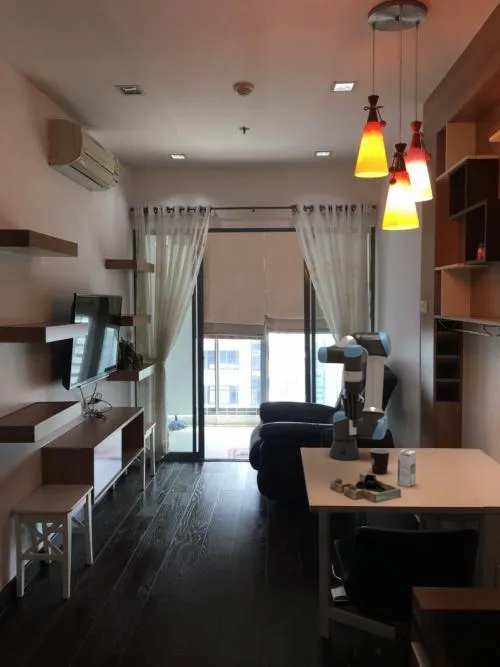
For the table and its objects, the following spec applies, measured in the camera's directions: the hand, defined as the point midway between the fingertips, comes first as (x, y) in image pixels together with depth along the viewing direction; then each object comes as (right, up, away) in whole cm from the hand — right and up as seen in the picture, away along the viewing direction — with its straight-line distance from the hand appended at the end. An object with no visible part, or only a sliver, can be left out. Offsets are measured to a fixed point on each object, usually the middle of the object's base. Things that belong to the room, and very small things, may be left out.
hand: (352, 434), depth 234 cm
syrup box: (+22, -21, -4) cm, 31 cm away
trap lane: (+2, -21, -13) cm, 25 cm away
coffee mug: (+15, -20, +15) cm, 30 cm away
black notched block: (+6, -23, -9) cm, 25 cm away
